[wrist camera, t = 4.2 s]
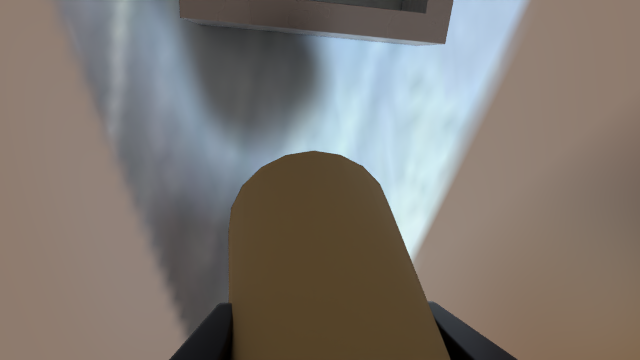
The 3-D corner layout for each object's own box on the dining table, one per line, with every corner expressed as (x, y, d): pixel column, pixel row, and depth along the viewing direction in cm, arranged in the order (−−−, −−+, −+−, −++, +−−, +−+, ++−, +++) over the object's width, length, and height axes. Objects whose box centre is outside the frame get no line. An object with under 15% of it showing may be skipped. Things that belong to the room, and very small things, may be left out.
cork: (416, 179, 13) (994, 699, 2) (356, 309, 14) (549, 937, 4) (255, 127, 11) (61, 783, 1) (210, 278, 13) (-29, 1080, 3)
